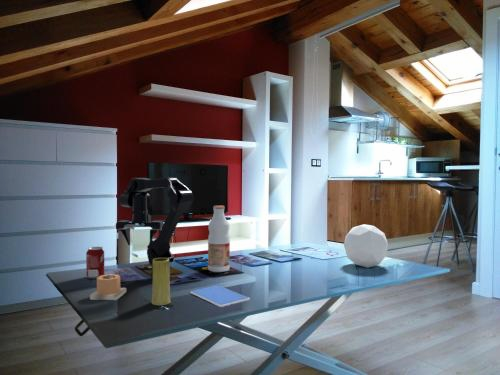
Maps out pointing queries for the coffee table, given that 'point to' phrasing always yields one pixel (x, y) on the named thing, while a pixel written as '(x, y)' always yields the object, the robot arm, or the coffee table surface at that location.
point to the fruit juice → (218, 242)
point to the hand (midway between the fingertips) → (140, 245)
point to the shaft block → (107, 297)
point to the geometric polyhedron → (366, 245)
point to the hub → (108, 284)
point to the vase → (161, 282)
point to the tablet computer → (219, 296)
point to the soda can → (95, 262)
